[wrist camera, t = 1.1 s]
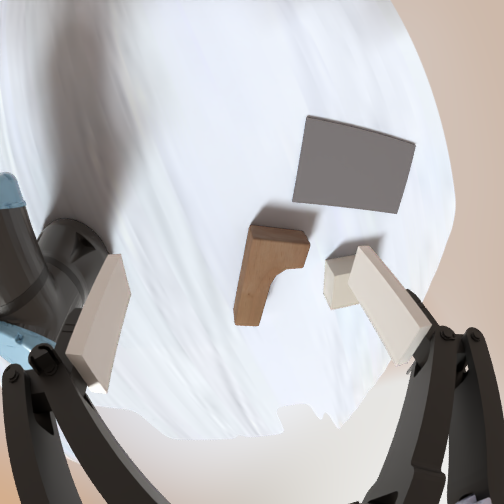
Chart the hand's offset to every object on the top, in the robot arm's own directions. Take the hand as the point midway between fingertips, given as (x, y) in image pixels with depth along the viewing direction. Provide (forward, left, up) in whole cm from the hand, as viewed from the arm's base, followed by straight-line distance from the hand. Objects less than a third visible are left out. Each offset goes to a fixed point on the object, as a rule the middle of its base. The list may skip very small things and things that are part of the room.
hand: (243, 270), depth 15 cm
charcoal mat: (+20, +1, -26) cm, 33 cm away
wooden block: (+9, -10, -24) cm, 28 cm away
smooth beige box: (+23, -19, -27) cm, 40 cm away
